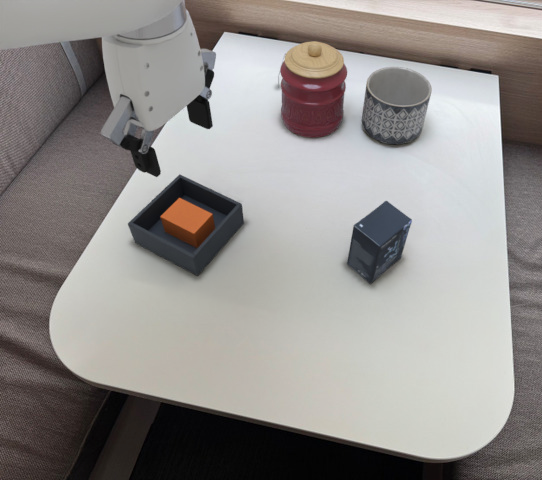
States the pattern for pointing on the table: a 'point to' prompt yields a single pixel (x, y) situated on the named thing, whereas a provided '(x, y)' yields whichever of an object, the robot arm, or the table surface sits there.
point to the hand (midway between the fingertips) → (176, 146)
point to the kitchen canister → (313, 89)
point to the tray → (188, 257)
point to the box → (378, 241)
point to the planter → (395, 104)
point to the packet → (188, 222)
